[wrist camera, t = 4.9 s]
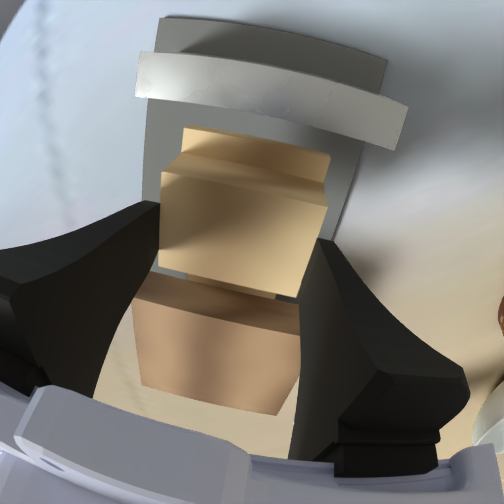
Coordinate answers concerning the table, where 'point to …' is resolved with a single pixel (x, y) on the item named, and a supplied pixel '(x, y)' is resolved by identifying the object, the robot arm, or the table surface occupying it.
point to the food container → (501, 315)
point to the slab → (216, 343)
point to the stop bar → (271, 94)
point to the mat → (265, 51)
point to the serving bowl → (491, 421)
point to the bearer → (242, 209)
